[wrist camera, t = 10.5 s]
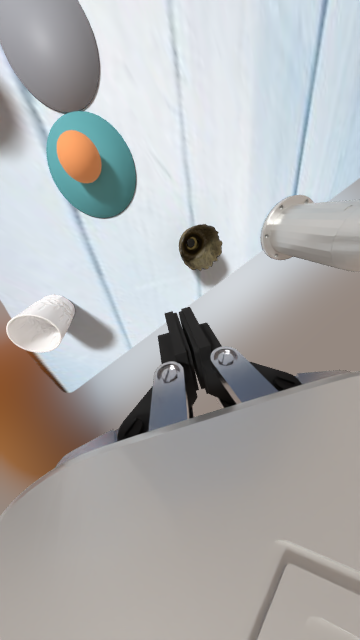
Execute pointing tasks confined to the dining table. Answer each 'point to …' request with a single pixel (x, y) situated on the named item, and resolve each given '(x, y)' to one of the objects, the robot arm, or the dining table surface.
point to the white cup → (42, 324)
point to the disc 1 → (51, 50)
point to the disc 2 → (116, 169)
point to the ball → (79, 156)
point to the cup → (200, 247)
